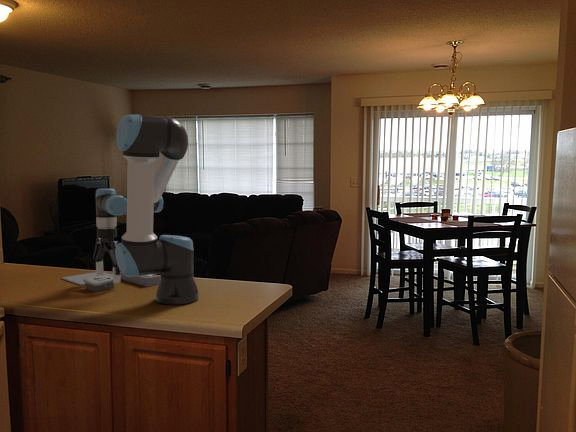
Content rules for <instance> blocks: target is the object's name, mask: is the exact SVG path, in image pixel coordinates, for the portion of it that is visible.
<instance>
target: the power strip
mask: <svg viewBox="0 0 576 432" xmlns="http://www.w3.org/2000/svg"><path fill="white" fill-rule="evenodd" d="M120 277H121V279H120V280H123V281H126V282H130V283H132V284H136V285H140V286H142V287H146V288H148V287H153V286H159V283H160V279H161V275H157V274H150V275H143V276H138V277H136V276H133V277H126V276H124V275H123V274H122V273H121V272H120Z"/></svg>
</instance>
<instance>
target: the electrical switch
mask: <svg viewBox="0 0 576 432" xmlns="http://www.w3.org/2000/svg"><path fill="white" fill-rule="evenodd" d="M83 282H85V285H84V286H85V289H86V290H88V291H92V292H95V293H99V292H103V291H108V290H112V289H115V284H114V283H113V278H112V277H109V276H106V275H100V276H96V277H92V278H88V279H84V280H83Z"/></svg>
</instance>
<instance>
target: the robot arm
mask: <svg viewBox="0 0 576 432" xmlns="http://www.w3.org/2000/svg"><path fill="white" fill-rule="evenodd" d="M188 136H189V135H188V133H187V130H186V128H185V127H184V125H183V124H182V123H181V122H180V121H179V120H177V119H175V118H174V117H171V116H167V115H166V116H162V115H161V116H160V115H159V116H158V115H149V114H148V115H147V114H139V113H138V114H126V115H124V116H123V117H122V118H121V119H120V121H119V123H118V126H117V129H116V136H115V142H116V146H117V148H118V150H119V151H121V152H122V157H123V159H125V160H126V162H127V169H126V170H127V172H126V173H127V174H126V175H127V176H126V177H127V178H126V180H127V182H126V183H127V185H126V188H127V189H126V191H127V192H126V194H117V191H116V189H115V188H98V189H96V190H95V211H96V213H95V214H96V217H95V218H96V220H95V221H96V238H95V245H94V251H93V255H92V259H93V260H94V262H95V272H96V276H100V275H104V274H103V272H104V256H105V254H106V253H108V255H109V257H110V260H111V262H112V264H113V265H112V274H113V283H114V285H115V284H119V283H120V284H121V280H122V279H120V277H121V273H122V274H123V275H124V276H126V277H133V276H136V277H138V276H143V275H150V274H153V275H157V274H160V283H159V285H157V290H156V293H155V302H157V303H158V304H163V305H185V304H191V303H194V302H196V301H198V300H199V297H200V295H199V294H200V293H199V289H198V286H197V284H196V281H195V277H194V251H195V250H194V242H193V239H191V238H190V237H187V236H182V235H172V234H162V235H160V236H159V238H158V236H157V235H156V234H155V233H154V213H160V212H161V211H163V208H164V199H163V196H162V195H163V194H164V192H165V189H166V187H167V186H168V184H169V181H170V179H171V177H172V175H173V173H174V172H175V170H176V167H177V165H178V164H179V161H180V160H183V159H184V157H185V156H186V153H187V151H188V148H189V137H188ZM123 215H126V232H125V233H124V234H123V235H122V236H121V242H119V240H116V241H115V238H116V237H117V236H118V229H117V221H118V218H117V216H118V217H119V216H123Z"/></svg>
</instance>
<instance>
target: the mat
mask: <svg viewBox="0 0 576 432" xmlns="http://www.w3.org/2000/svg"><path fill="white" fill-rule="evenodd" d="M103 274H104V275H106V276H109V277H112V278H113V273H108V272H107V271H106V272H105V271H103ZM92 277H96V271H94V272H87V273H83V274H81V273H80V274H75V275H71V276H69V275H68V276H63V277H61V279H62V280H63V281H66V282H70V283H71V284H72V283H73V284H75V285H78V286H81V287H82V286H86V285H85V282H83V280H84V279H88V278H92ZM120 280H122V279H121V276H120Z"/></svg>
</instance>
